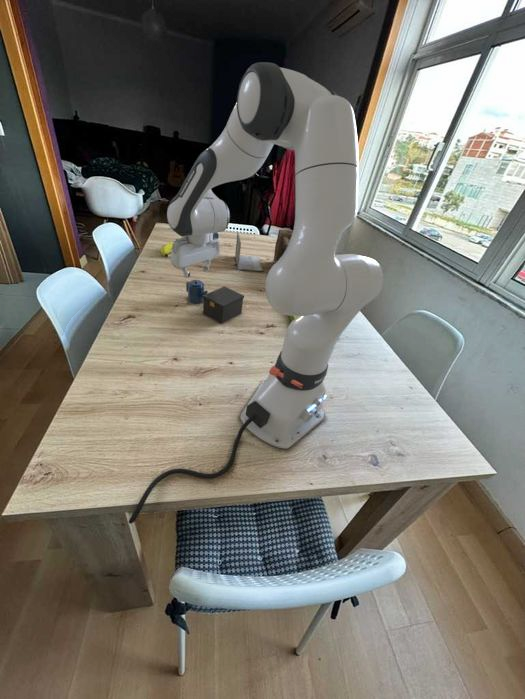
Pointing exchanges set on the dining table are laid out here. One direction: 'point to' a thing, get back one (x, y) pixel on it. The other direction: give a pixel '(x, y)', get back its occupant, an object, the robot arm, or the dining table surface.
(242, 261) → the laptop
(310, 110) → the robot arm
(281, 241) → the ornamental box
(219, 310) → the black box
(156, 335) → the dining table surface
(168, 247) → the banana
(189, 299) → the teapot
